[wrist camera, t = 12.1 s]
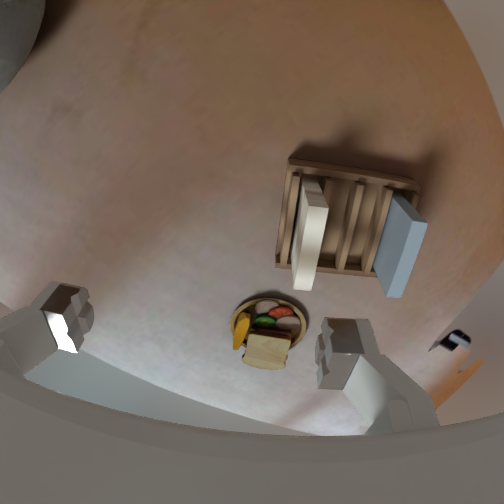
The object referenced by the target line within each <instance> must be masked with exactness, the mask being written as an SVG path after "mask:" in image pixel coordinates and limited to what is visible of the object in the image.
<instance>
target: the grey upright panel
mask: <svg viewBox="0 0 504 504" xmlns="http://www.w3.org/2000/svg"><path fill="white" fill-rule="evenodd" d="M427 225H428V223H427V222H426V221H425V219H424V218H423V217H422V216H421V215H420V214H419V213H418V212H417V211H416V210H415V208H414V207H413V206H412V205H411V204H410V203H409V202H408V201H407V200H406V199H405V198H404V197H403V196H402V195H401V194H400V193H395V192H393V193H392V197H391V201H390V205H389V209H388V213H387V217H386V220H385V224H384V228H383V231H382V235H381V238H380V241H379V245H378V248H377V252H376V255H375V258H374V261H373V264H372V265H373V268H374V270H375V272H376V274H377V277H378V279H379V281H380V283H381V286H382V288H383V290H384V293H385V295H386V297H395V298H401V296H402V293H403V291H404V288H405V286H406V283H407V281H408V278H409V276H410V273H411V271H412V268H413V265H414V263H415V260H416V257H417V254H418V252H419V249H420V246H421V243H422V240H423V237H424V234H425V231H426V228H427Z"/></svg>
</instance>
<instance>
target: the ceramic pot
mask: <svg viewBox="0 0 504 504" xmlns="http://www.w3.org/2000/svg"><path fill="white" fill-rule="evenodd" d="M44 10H45V0H0V93H1V92H2V91H3V90H4V89H5V88H6V87H7V86H8V85H9V83H10V82H11V81H12V79H13V78H14V77H15V75H16V74H17V73H18V71H19V70H20V69H21V67H22V66H23V64H24V63H25V61H26V59H27V57H28V55H29V54H30V52H31V49H32V47H33V45H34V42H35V40H36V38H37V35H38V32H39V29H40V26H41V22H42V19H43V15H44Z"/></svg>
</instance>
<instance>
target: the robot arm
mask: <svg viewBox="0 0 504 504" xmlns="http://www.w3.org/2000/svg"><path fill="white" fill-rule="evenodd" d="M89 297H90V296H89V293H88V290H87V289H86V288H84V287H80V286H75V285H71V284H66V283H60V282H56V281H51V282H49V283H48V284H47V286H46V287H45V288H44V289H43V290H42V292H41V293H40V294H39V295H38V296H37V298H36V299H35V300H34V301H33V302H32V304H31V305H30V306H29V307H27V306H25V307H23V308H21V309H19V310H17V311H15V312H13V313H11V314H9V315H7V316H5V317H4V318H1V319H0V504H504V412H503V413H499V414H496V415H492V416H488V417H483V418H480V419H475V420H471V421H466V422H461V423H456V424H450V425H445V426H440V424H439V420H438V417H437V414H436V411H435V408H434V404H433V401H432V398H431V396H430V395H429V394H428V393H427V392H425V391H424V390H423V389H422V388H421V387H420V386H419V385H418V384H417V383H415V382H414V381H413V380H412V379H411V378H410V377H409V376H408V375H407V374H405V373H404V372H403V371H402V370H401V369H400V368H399V367H398V366H396V365H395V364H394V363H393V362H392V361H391V360H390V359H389V358H388V357H386V356H385V355H380V352H379V348H378V345H377V342H376V339H375V336H374V332H373V329H372V326H371V323H370V321H369V320H368V319H347V318H330V317H325V318H324V319H323V322H322V325H321V329H322V333H321V334H320V335H318V338H317V341H316V347H315V362H316V364H317V365H318V366H319V368H318V370H317V382H318V389H333V390H343V392H344V394H345V395H346V396H347V398H348V399H349V400H350V401H351V403H352V404H353V405H354V407H355V408H356V409H357V411H358V412H359V413H360V415H361V416H362V417H363V419H364V420H365V421H366V422H367V424H368V425H369V426H370V428H369V429H368V430H367V432H366V433H365V434H364V435H349V436H289V435H269V434H255V433H244V432H234V431H225V430H216V429H209V428H202V427H195V426H190V425H183V424H178V423H172V422H167V421H162V420H157V419H152V418H148V417H143V416H139V415H135V414H131V413H127V412H123V411H119V410H115V409H111V408H108V407H104V406H101V405H97V404H94V403H91V402H87V401H84V400H81V399H78V398H75V397H72V396H68V395H65V394H63V393H60V392H57V391H54V390H52V389H49V388H46V387H43V386H41V385H39V384H36V383H33V382H31V381H29V380H27V379H26V378H25V376H24V375H25V374H26V373H27V372H28V371H30V370H31V369H33V368H34V367H35V366H37V365H38V364H39V363H41V362H42V361H43V360H45V359H46V358H47V357H48V356H50V355H51V354H53V353H54V352H55V351H56V350H58V348H59V349H63V350H67V351H71V352H75V353H77V352H78V350H79V348H80V347H81V345H82V343H83V341H84V336H83V335H84V334H86V333H87V332H89V331H90V329H91V327H92V325H93V321H94V311H93V307H92V306H91V304H90V303H89V302H88V299H89Z"/></svg>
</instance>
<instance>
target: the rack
mask: <svg viewBox="0 0 504 504" xmlns="http://www.w3.org/2000/svg"><path fill="white" fill-rule="evenodd" d="M421 188H422V186H421V185H419V184H418V183H417V182H416V181H415V180H414V179H412V178H408V177H403V176H398V175H393V174H388V173H382V172H377V171H372V170H366V169H360V168H354V167H348V166H342V165H335V164H329V163H322V162H314V161H307V160H299V159H291V158H288V162H287V170H286V178H285V186H284V194H283V201H282V209H281V217H280V224H279V231H278V239H277V246H276V253H275V268H281V269H292V277H293V289H297V290H308V291H311V289H312V284H313V280H314V276H315V272H323V273H333V274H344V275H355V276H366V277H377V274H376V272H375V270H374V268H373V265H372V264H373V261H374V258H375V255H376V252H377V248H378V245H379V241H380V238H381V235H382V231H383V228H384V224H385V220H386V217H387V213H388V209H389V205H390V201H391V197H392V193H393V192H395V193H400V194H401V195H402V196H403V197H404V198H405V199H406V200H407V201H408V202H409V203H410V204H411V205H412V206H413V207H414V208H415V210H416V207H417V204H418V200H419V197H420V196H419V195H418V194H417V193H416V192H420V191H421ZM415 191H416V192H415ZM377 278H378V277H377Z"/></svg>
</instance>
